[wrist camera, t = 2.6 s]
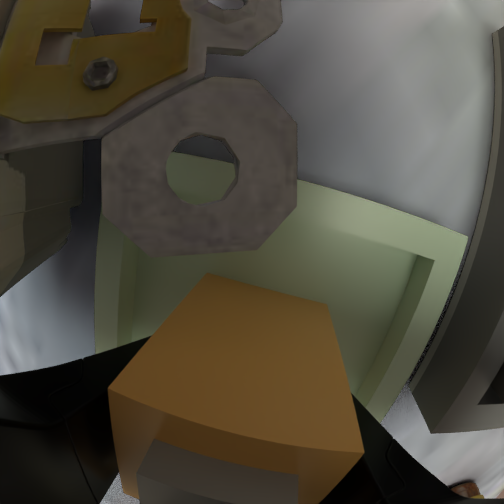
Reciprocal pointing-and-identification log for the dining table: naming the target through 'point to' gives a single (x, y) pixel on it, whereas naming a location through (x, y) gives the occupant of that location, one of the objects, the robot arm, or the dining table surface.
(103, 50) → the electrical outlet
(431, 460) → the dining table surface
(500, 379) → the twin plug
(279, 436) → the plug
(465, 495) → the sauce bottle
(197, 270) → the tray
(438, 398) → the power strip
